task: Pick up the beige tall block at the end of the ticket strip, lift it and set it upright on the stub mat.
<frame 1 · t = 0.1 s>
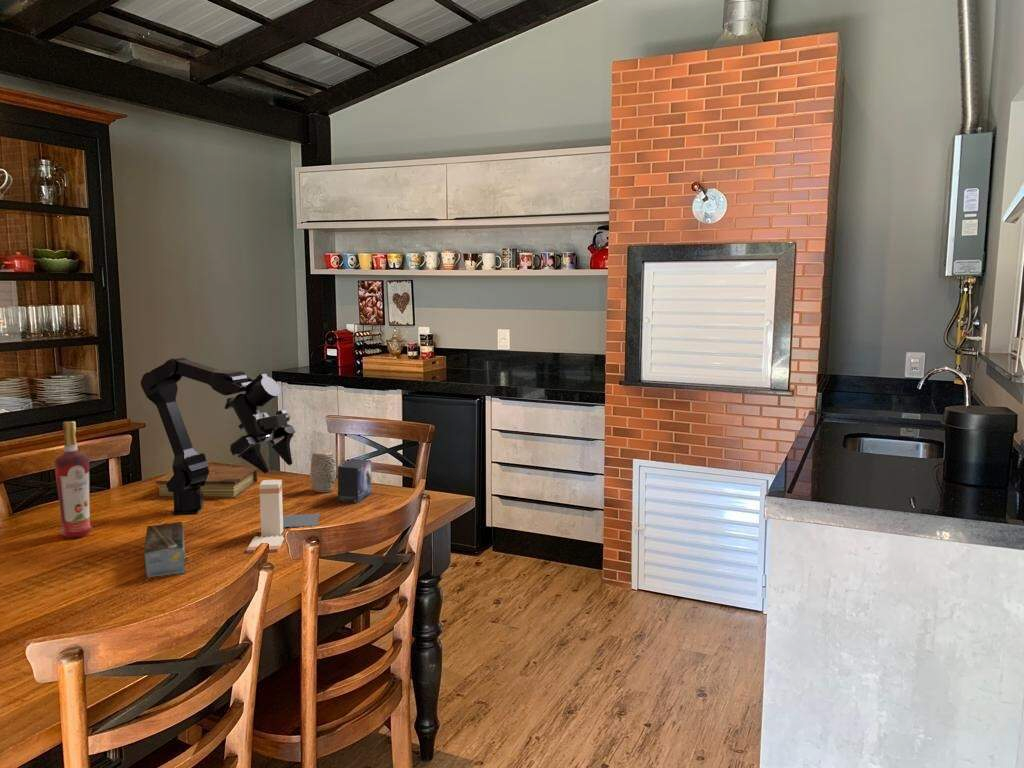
hand: (279, 468, 193), 15 cm above the table, tool tilted 35°, fingers open, 9 cm apart
liquor: (76, 536, 186), on the table
ticket strip: (266, 545, 180), on the table
carving: (323, 491, 228), on the table
small box: (355, 498, 220), on the table
diary: (209, 491, 228), on the table
stub mat: (298, 521, 198), on the table
beverage carton: (166, 563, 169), on the table
beige tall block: (272, 533, 188), on the table
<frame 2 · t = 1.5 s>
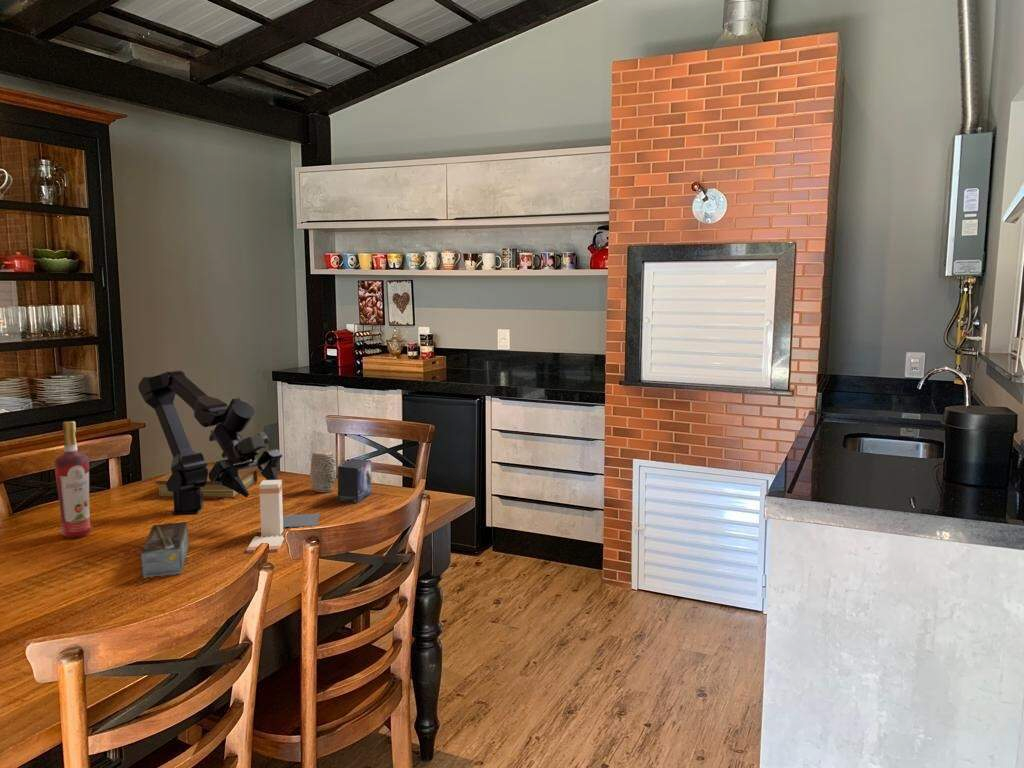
hand: (263, 491, 189), 10 cm above the table, tool tilted 45°, fingers open, 9 cm apart
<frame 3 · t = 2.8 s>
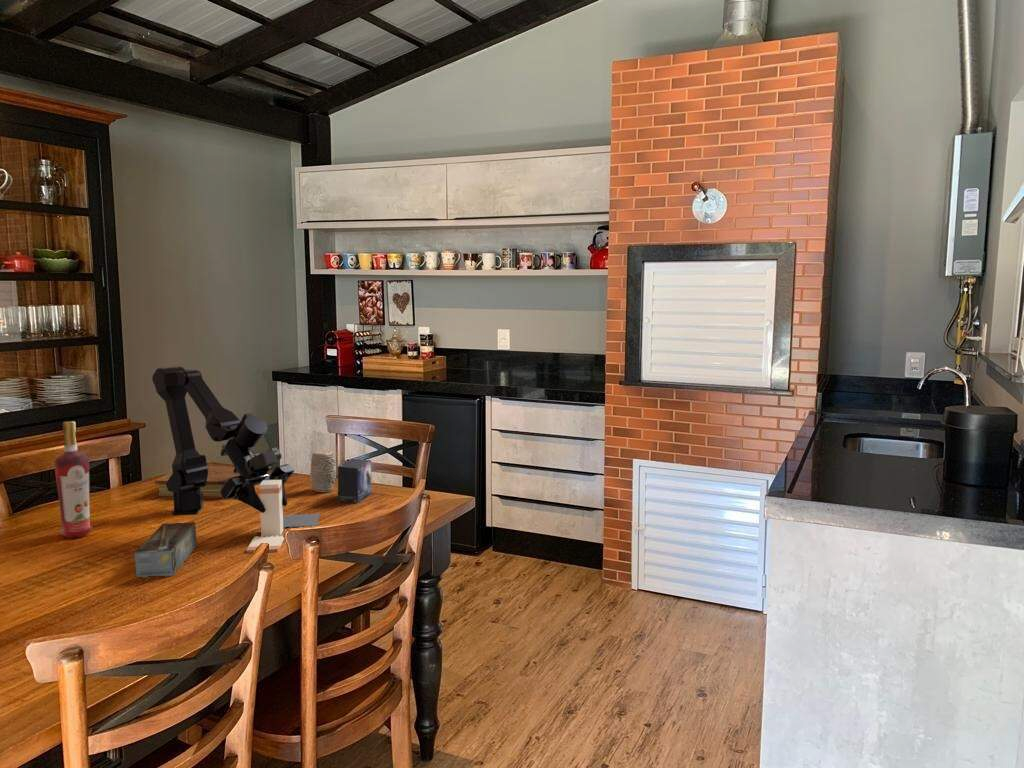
hand: (275, 508, 187), 7 cm above the table, tool tilted 45°, fingers closed on beige tall block, 6 cm apart
beige tall block: (272, 533, 188), on the table, touching gripper
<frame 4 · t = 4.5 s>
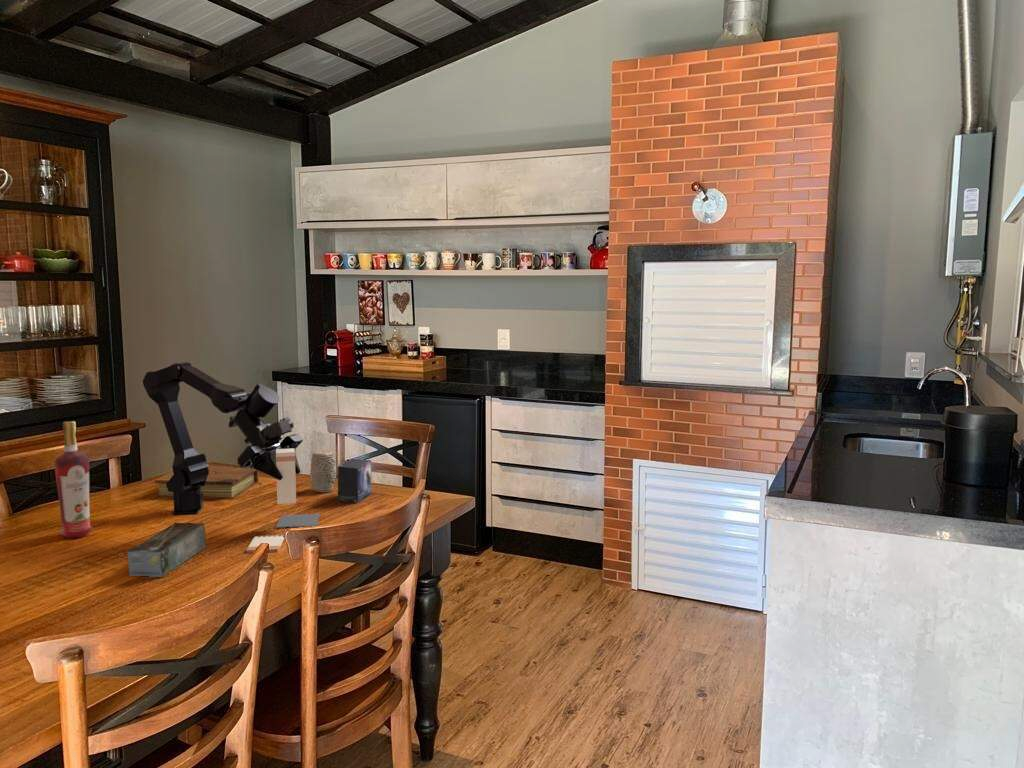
hand: (290, 476, 191), 13 cm above the table, tool tilted 45°, fingers closed on beige tall block, 6 cm apart
beige tall block: (286, 501, 192), point 7 cm above the table, touching gripper
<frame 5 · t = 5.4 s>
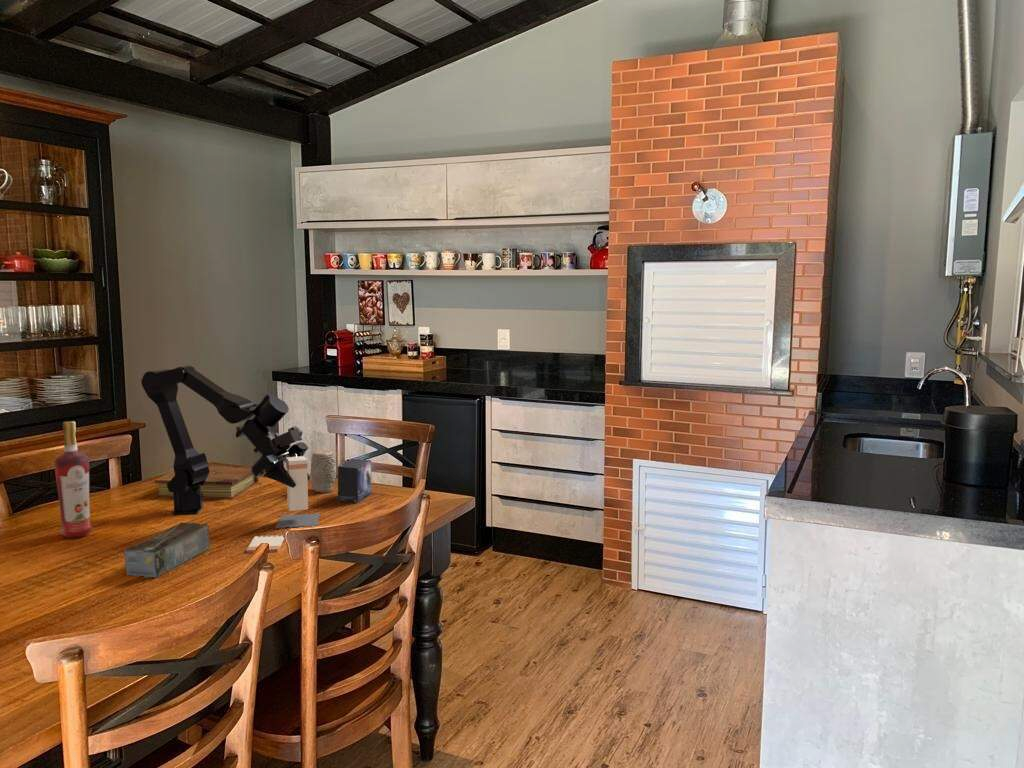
hand: (301, 483, 196), 10 cm above the table, tool tilted 45°, fingers closed on beige tall block, 6 cm apart
beige tall block: (297, 507, 197), point 4 cm above the table, touching gripper
when the fingers open (8 cm above the table, at t = 6.3 s): beige tall block drops 1 cm, resting on stub mat.
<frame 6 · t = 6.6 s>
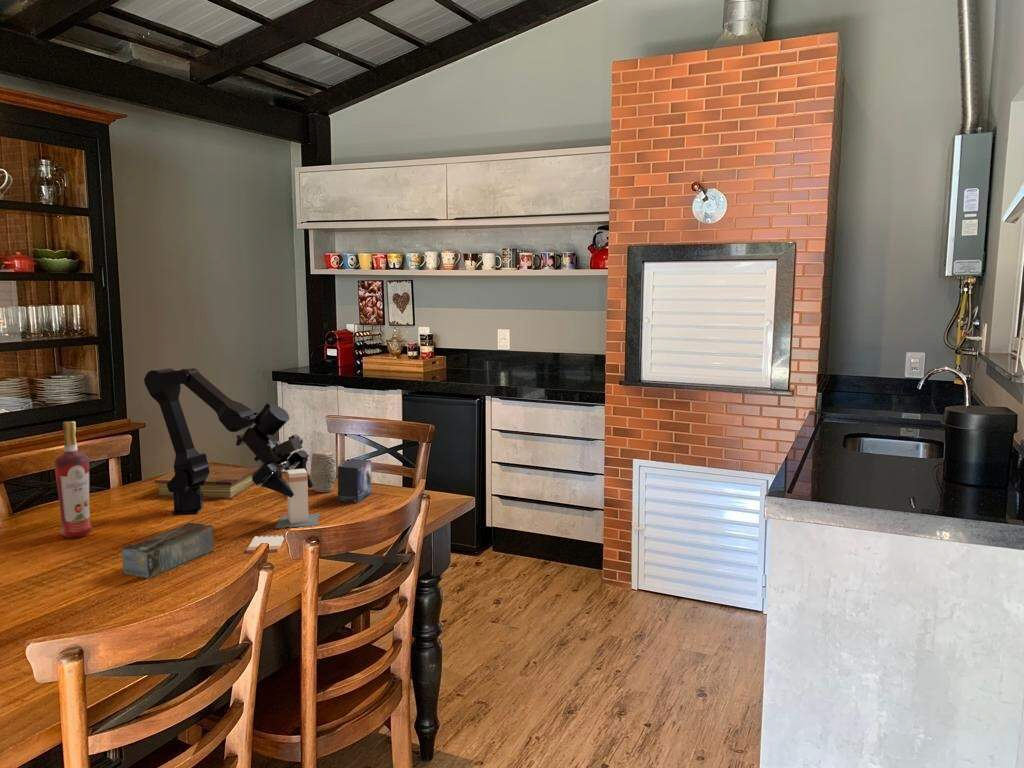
hand: (302, 491, 196), 8 cm above the table, tool tilted 45°, fingers open, 9 cm apart
beige tall block: (298, 520, 198), resting on stub mat
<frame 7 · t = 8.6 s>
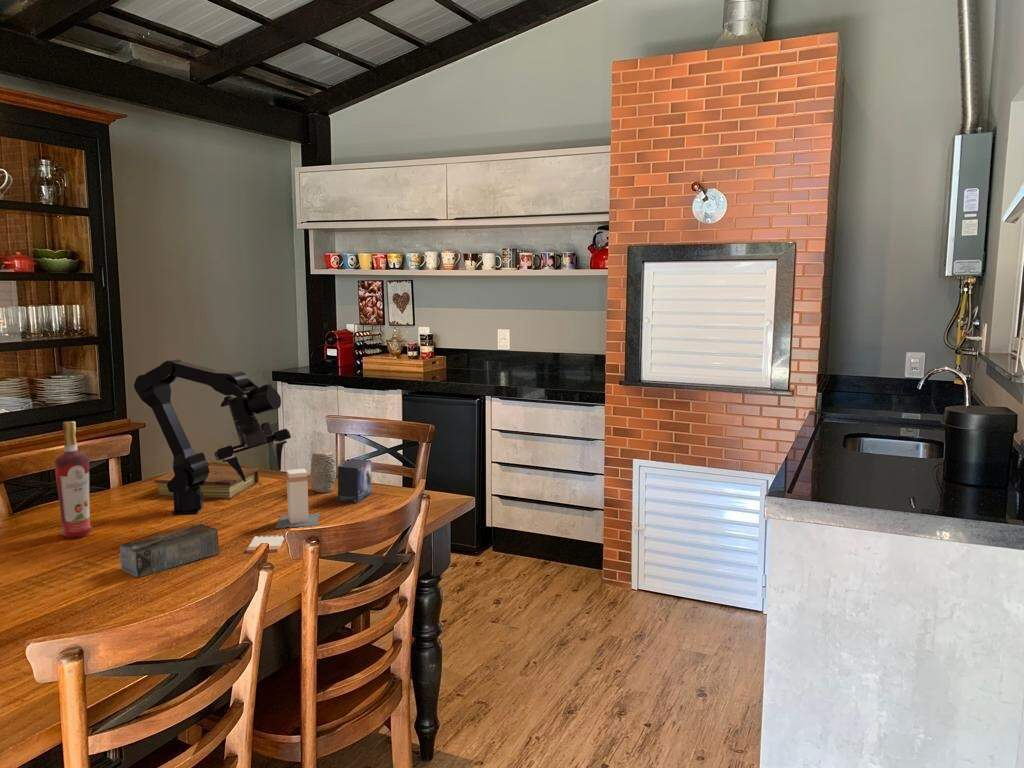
hand: (262, 475, 199), 11 cm above the table, tool tilted 15°, fingers open, 9 cm apart
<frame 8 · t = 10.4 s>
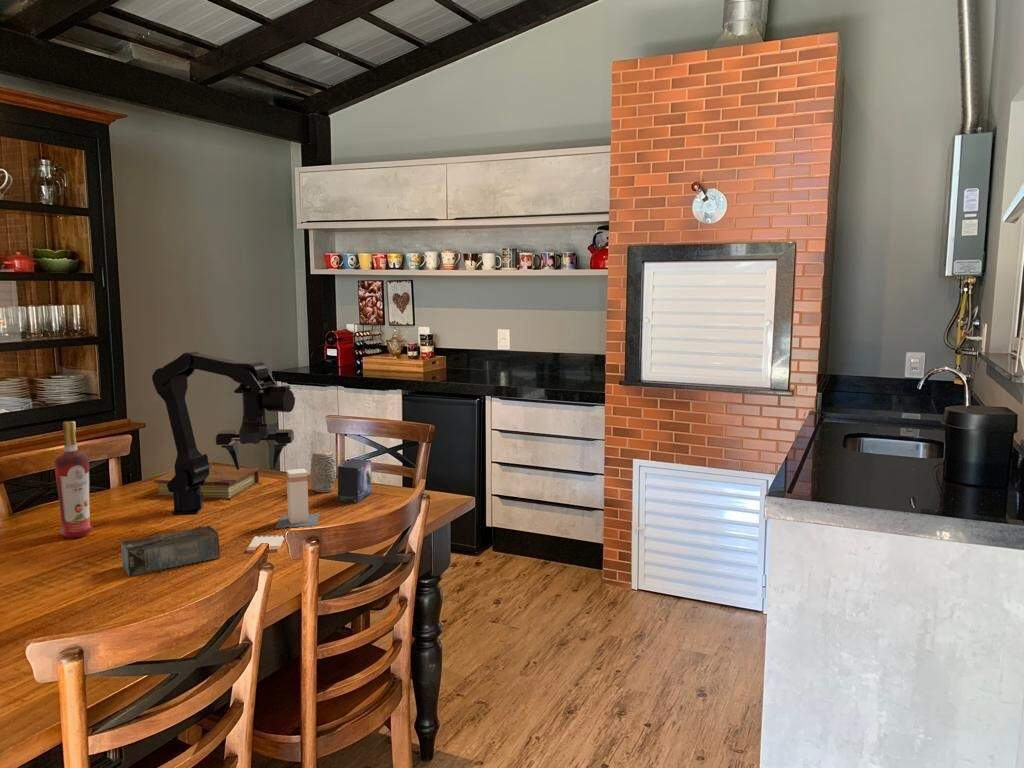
hand: (256, 469, 200), 13 cm above the table, tool pointing down, fingers open, 9 cm apart
at the end: beige tall block inside the target area on the stub mat (0.0 cm from its centre), point 0.4 cm above the stub mat's base; beige tall block tilted 0°; the gripper is holding nothing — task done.
